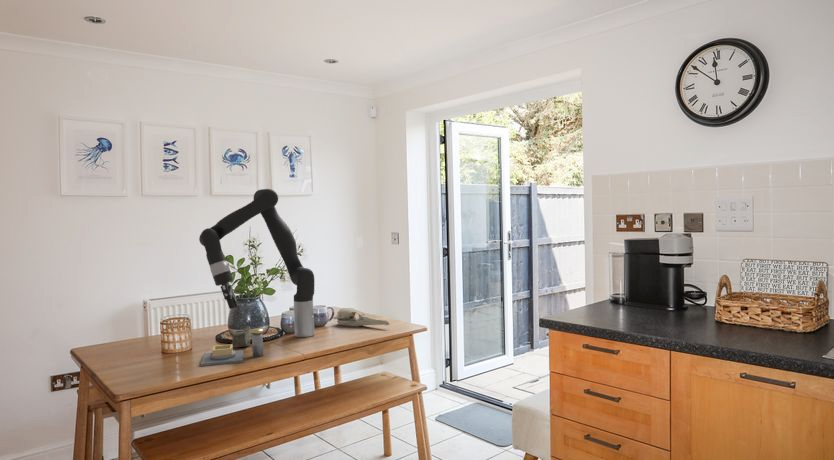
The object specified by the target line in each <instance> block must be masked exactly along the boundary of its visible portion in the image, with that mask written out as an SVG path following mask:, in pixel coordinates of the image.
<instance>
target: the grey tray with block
mask: <svg viewBox="0 0 834 460" xmlns="http://www.w3.org/2000/svg"><path fill="white" fill-rule="evenodd" d="M211 351H212V352H208V353H203V356H202V359H201V362H200V367H208V366H217V365H219V366H220V365H229V364H230V365H231V364H240V363H243V362H244V353H245V352H244V349H239V350H234V346H233V344H232V343H230V344H220V345H213V347H212V349H211Z"/></svg>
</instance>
